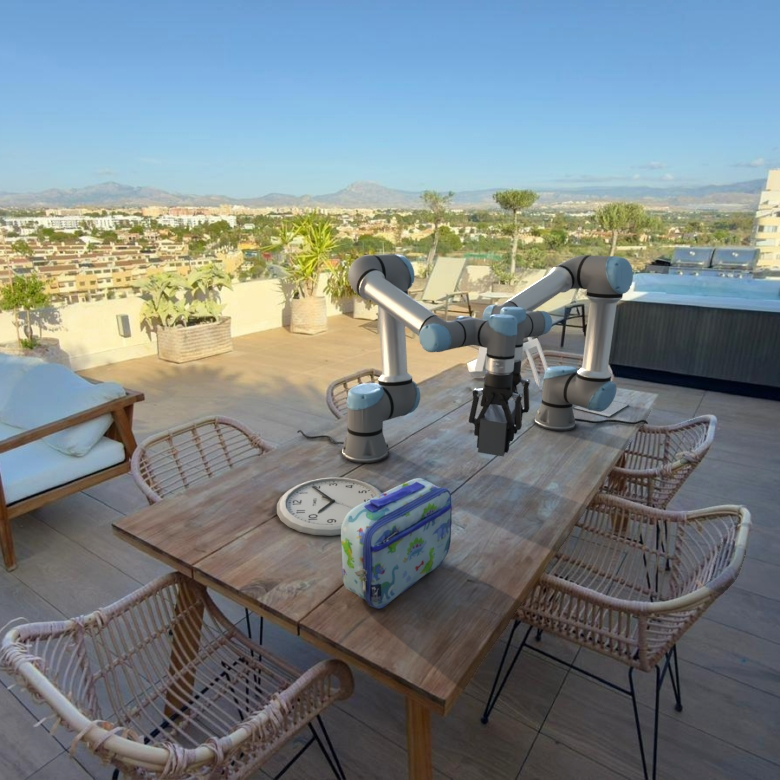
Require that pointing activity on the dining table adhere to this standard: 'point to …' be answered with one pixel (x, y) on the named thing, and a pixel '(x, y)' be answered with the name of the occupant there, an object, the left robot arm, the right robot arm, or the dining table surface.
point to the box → (494, 429)
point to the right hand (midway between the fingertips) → (502, 430)
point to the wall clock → (323, 504)
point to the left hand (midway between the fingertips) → (492, 448)
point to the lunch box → (395, 540)
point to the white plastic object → (530, 347)
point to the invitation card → (609, 411)
